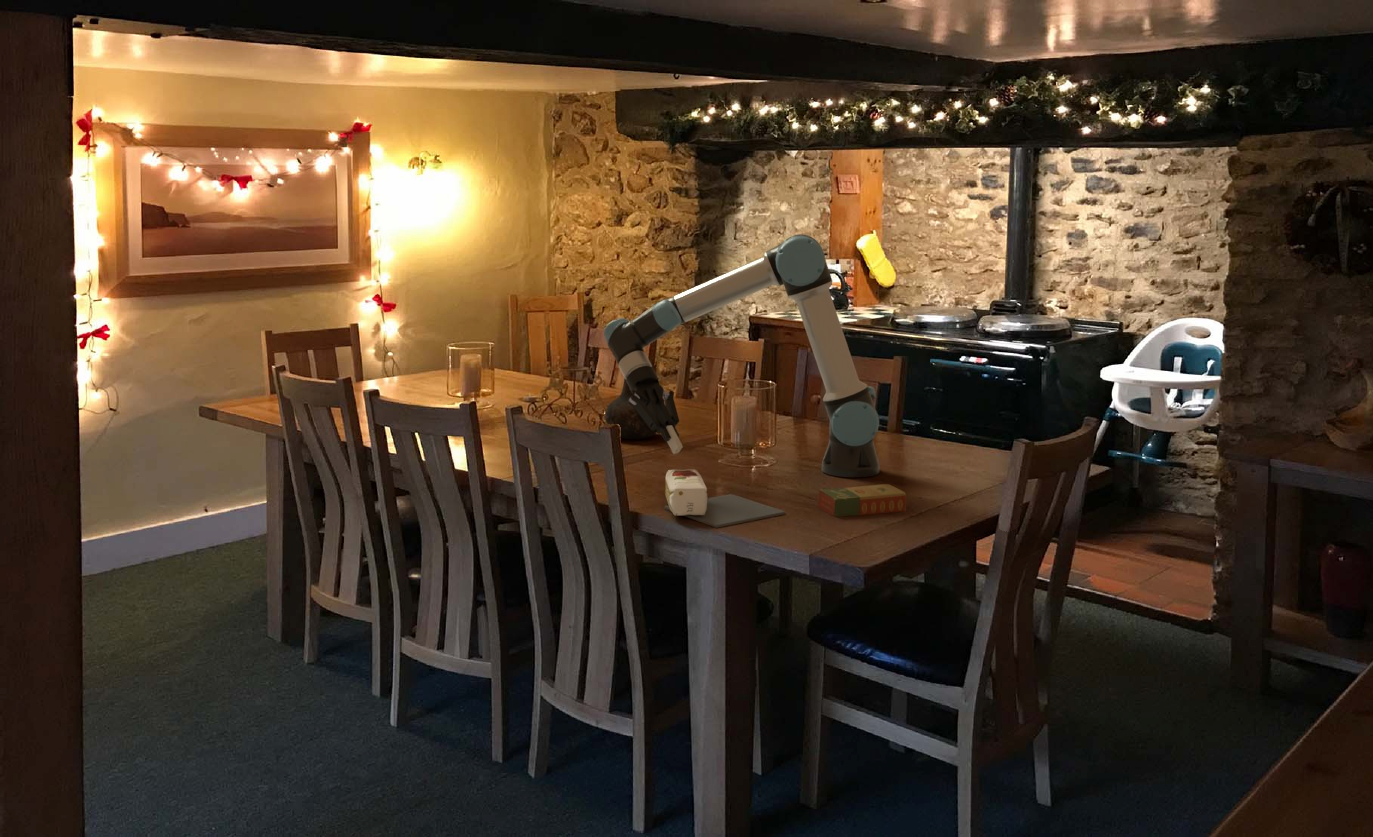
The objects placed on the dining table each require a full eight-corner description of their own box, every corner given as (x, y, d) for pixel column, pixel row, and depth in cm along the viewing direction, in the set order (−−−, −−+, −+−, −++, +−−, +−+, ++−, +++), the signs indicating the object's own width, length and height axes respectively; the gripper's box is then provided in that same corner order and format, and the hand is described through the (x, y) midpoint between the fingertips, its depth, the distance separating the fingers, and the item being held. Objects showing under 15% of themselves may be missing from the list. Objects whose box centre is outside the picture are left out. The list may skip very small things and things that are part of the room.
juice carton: (699, 497, 289) (708, 518, 270) (663, 497, 288) (670, 518, 269) (699, 466, 287) (708, 485, 269) (664, 467, 286) (670, 486, 268)
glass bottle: (650, 444, 351) (650, 349, 346) (595, 440, 357) (594, 346, 352) (673, 433, 367) (673, 342, 362) (619, 429, 373) (619, 339, 368)
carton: (906, 512, 279) (907, 492, 278) (833, 518, 274) (834, 498, 273) (887, 502, 288) (888, 482, 287) (817, 508, 283) (817, 487, 282)
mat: (664, 508, 280) (664, 506, 280) (731, 496, 292) (731, 493, 292) (716, 527, 264) (716, 525, 264) (785, 513, 276) (785, 511, 276)
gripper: (654, 380, 307) (692, 455, 297) (611, 384, 299) (649, 462, 289) (666, 362, 302) (706, 438, 292) (623, 366, 294) (662, 444, 284)
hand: (678, 450), depth 290 cm, fingers closed
